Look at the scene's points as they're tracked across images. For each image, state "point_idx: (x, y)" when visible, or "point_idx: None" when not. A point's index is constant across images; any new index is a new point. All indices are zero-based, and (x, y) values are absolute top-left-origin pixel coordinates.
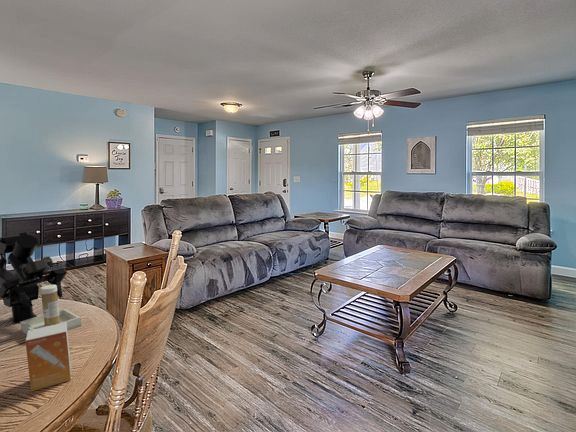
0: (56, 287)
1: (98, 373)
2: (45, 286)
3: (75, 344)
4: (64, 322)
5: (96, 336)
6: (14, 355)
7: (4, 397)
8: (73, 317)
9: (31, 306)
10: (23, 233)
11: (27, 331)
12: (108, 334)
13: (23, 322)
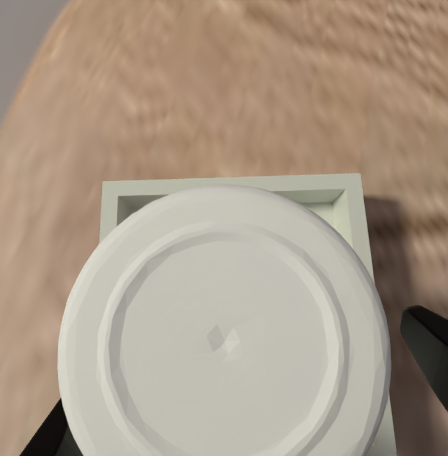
0: (106, 246)
1: None
2: (270, 418)
3: (226, 27)
4: (198, 180)
5: (138, 29)
6: (433, 123)
7: None
8: None
9: (412, 308)
10: None
11: None
12: (98, 9)
13: (382, 423)
